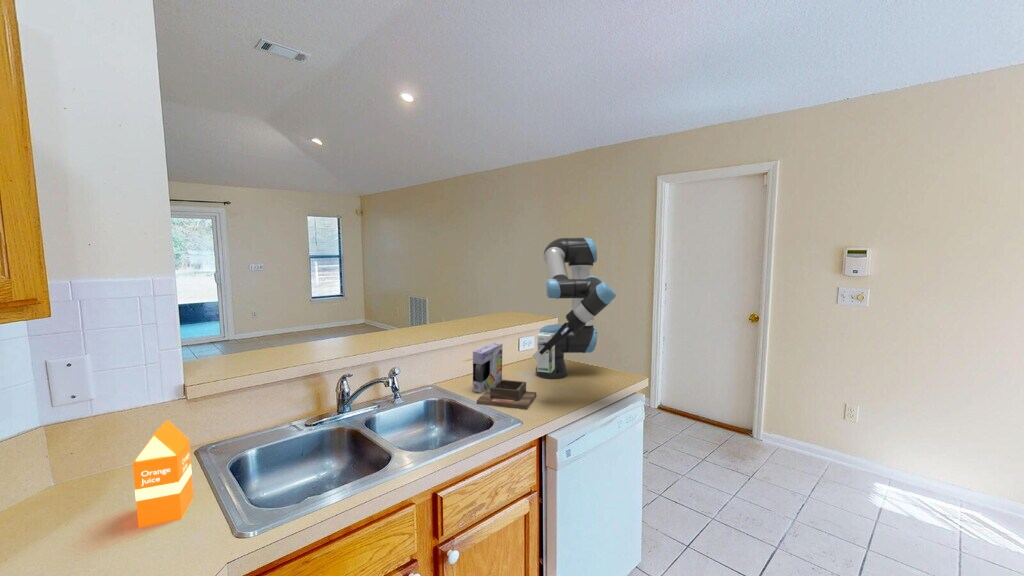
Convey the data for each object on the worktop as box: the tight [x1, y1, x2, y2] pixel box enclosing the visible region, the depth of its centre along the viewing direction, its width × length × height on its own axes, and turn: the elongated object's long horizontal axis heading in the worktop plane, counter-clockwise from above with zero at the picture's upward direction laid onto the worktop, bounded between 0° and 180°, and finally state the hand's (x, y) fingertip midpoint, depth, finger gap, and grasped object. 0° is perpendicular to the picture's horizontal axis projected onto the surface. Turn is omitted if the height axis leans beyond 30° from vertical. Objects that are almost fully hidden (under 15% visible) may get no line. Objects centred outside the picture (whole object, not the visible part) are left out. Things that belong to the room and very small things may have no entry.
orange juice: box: [132, 419, 194, 529], centre depth 93 cm, size 8×9×20 cm
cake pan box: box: [472, 341, 503, 394], centre depth 178 cm, size 19×5×18 cm, turn 152°
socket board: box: [476, 379, 537, 411], centre depth 163 cm, size 15×20×6 cm
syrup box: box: [536, 332, 555, 373], centre depth 159 cm, size 6×6×14 cm
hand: (536, 355), depth 161 cm, fingers closed on syrup box, 6 cm apart
